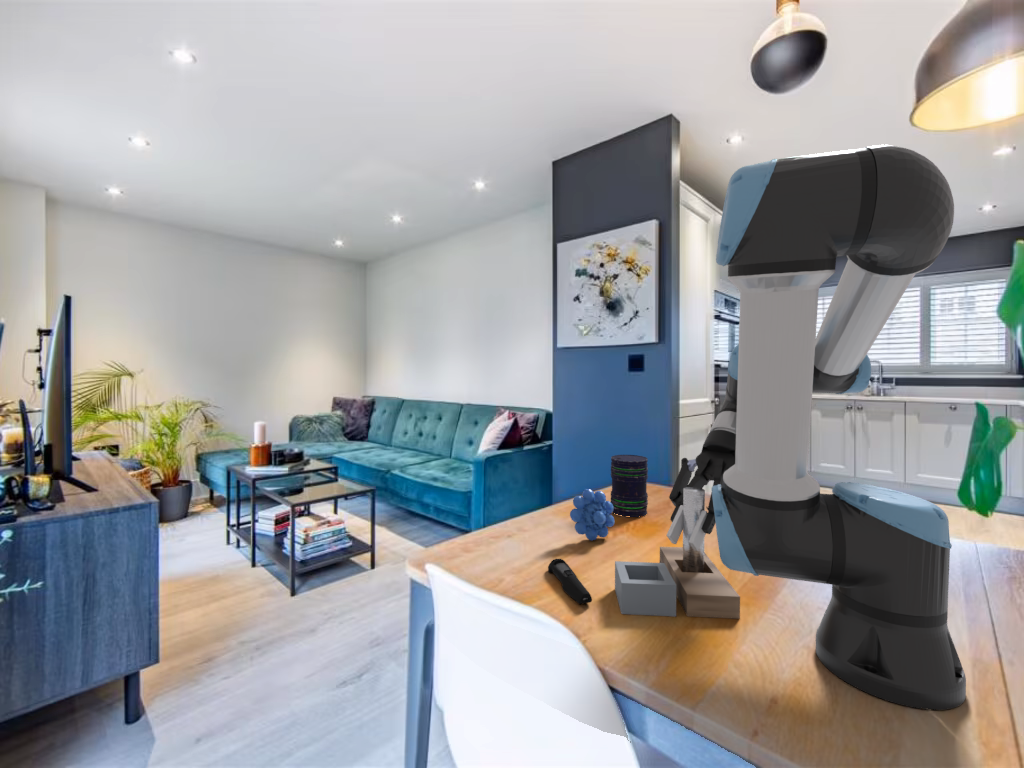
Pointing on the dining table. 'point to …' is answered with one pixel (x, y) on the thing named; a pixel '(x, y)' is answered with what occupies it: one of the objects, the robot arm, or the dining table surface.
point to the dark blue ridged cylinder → (629, 485)
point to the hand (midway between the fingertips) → (682, 543)
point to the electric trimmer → (569, 581)
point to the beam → (701, 587)
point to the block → (645, 589)
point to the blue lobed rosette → (592, 514)
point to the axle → (692, 528)
